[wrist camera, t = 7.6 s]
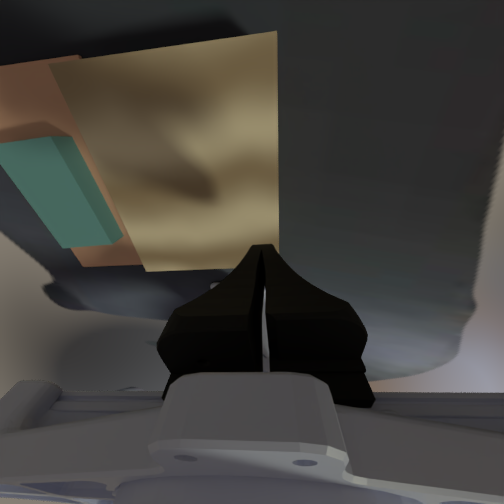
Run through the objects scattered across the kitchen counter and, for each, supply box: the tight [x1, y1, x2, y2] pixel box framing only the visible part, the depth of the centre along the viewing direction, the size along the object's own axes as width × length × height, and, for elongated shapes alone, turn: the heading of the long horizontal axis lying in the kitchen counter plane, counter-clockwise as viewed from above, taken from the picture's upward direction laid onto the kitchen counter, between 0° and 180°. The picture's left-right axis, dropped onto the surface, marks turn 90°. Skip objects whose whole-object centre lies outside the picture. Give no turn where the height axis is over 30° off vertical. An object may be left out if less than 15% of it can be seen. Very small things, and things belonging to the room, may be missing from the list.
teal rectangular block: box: [0, 136, 124, 248], centre depth 19 cm, size 10×6×2 cm, turn 6°
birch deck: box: [48, 31, 279, 272], centre depth 17 cm, size 16×14×4 cm
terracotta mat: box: [0, 55, 142, 267], centre depth 19 cm, size 19×11×1 cm, turn 5°
